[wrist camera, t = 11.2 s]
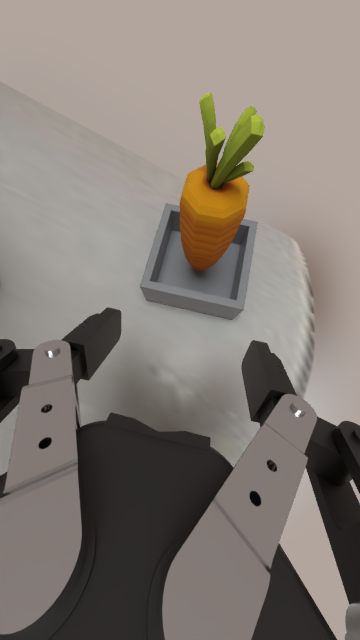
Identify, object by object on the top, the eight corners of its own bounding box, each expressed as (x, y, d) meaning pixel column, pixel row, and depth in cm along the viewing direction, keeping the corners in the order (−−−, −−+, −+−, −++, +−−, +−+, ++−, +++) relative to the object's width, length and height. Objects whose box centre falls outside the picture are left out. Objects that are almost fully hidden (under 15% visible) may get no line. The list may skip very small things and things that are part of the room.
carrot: (175, 254, 23) (172, 72, 9) (213, 249, 24) (271, 62, 9) (182, 291, 22) (192, 149, 8) (222, 284, 23) (305, 136, 8)
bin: (146, 299, 23) (139, 286, 19) (167, 228, 25) (165, 203, 21) (231, 319, 22) (243, 309, 18) (245, 244, 25) (257, 221, 21)
